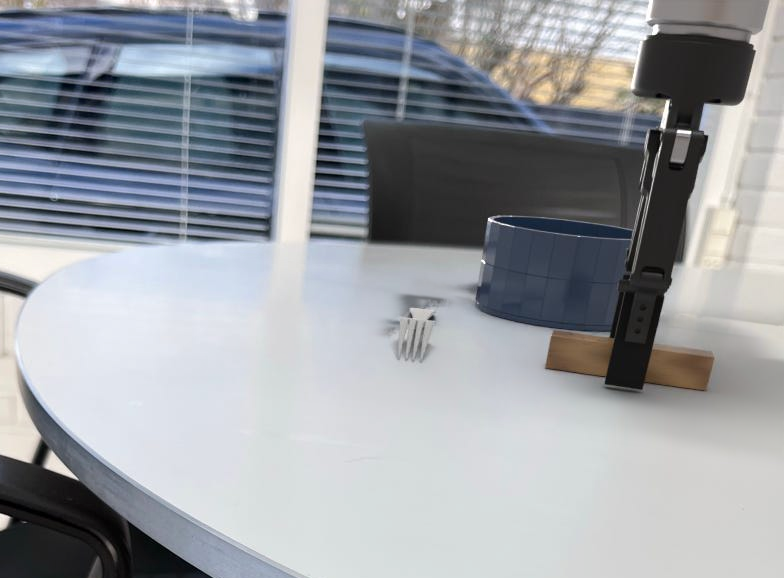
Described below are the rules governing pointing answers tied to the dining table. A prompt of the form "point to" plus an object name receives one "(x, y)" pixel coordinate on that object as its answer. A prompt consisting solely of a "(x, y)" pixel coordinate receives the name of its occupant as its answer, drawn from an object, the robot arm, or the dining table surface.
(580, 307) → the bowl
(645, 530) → the dining table surface
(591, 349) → the stick
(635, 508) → the dining table surface
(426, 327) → the fork
